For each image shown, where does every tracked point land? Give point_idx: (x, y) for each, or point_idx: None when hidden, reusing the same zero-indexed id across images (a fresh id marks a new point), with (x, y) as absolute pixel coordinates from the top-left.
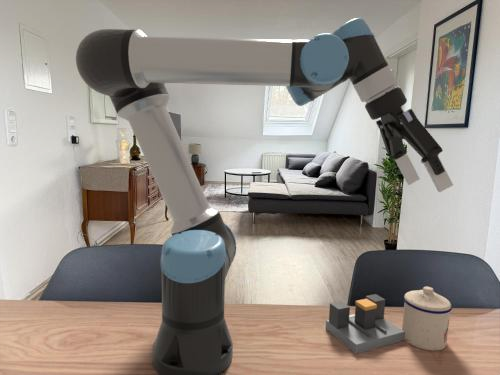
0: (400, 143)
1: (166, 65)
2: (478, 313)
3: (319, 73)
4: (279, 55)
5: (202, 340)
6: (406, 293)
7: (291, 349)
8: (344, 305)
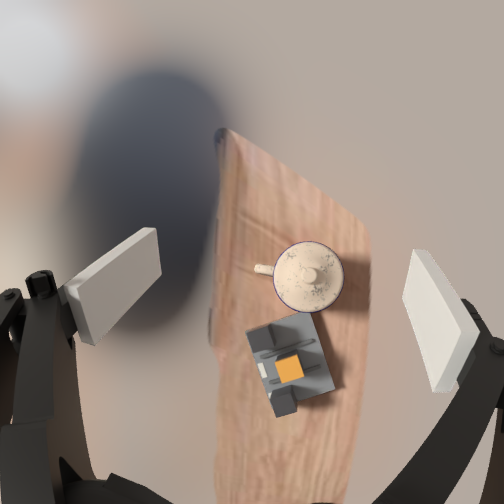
0: (59, 366)
1: None
2: (239, 157)
3: None
4: None
5: None
6: (287, 302)
7: (316, 452)
8: (285, 399)
